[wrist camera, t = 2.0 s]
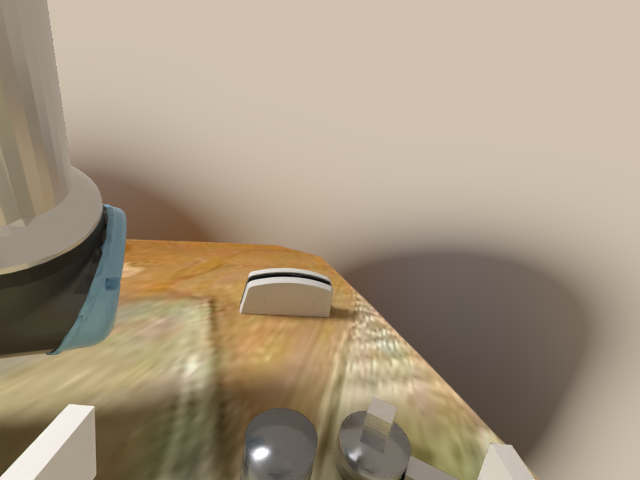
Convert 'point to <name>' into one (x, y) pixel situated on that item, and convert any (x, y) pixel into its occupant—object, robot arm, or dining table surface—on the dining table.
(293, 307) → the hinge
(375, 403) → the ratchet
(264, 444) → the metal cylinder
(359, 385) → the dining table surface
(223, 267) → the dining table surface
